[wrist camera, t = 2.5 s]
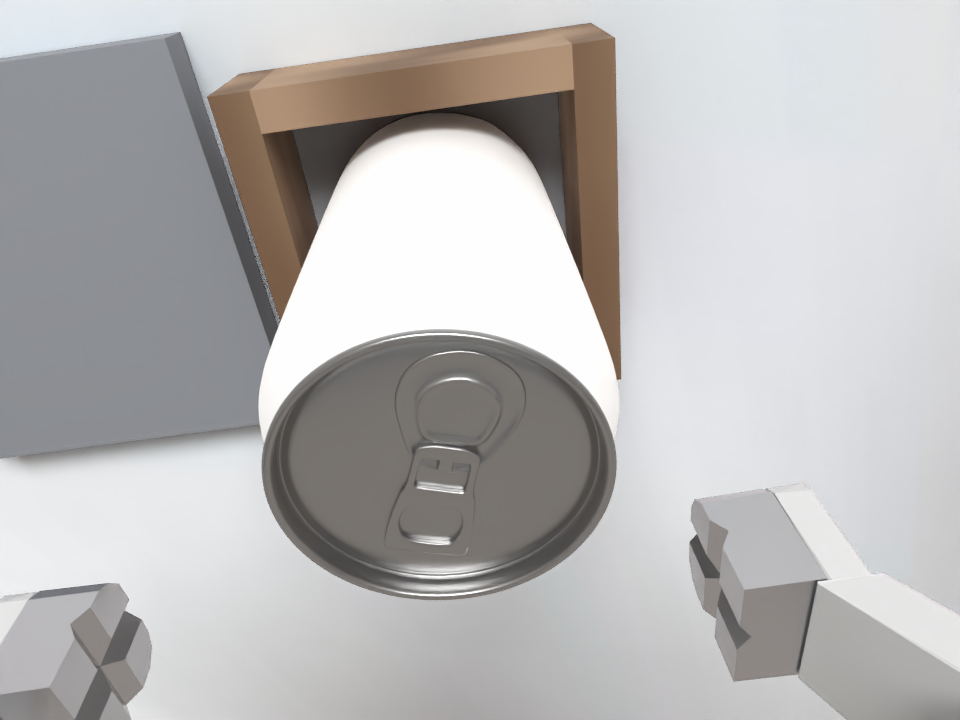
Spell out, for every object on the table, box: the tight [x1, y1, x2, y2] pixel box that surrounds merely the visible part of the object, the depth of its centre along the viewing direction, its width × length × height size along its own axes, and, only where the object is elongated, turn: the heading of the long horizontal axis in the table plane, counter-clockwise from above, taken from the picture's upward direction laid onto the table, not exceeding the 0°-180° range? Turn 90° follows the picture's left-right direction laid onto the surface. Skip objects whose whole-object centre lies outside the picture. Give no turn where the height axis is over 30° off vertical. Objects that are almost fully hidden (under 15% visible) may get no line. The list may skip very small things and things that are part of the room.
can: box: [258, 113, 619, 600], centre depth 16 cm, size 6×6×12 cm
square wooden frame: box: [207, 23, 621, 380], centre depth 20 cm, size 10×10×3 cm
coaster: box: [0, 32, 278, 459], centre depth 21 cm, size 11×12×1 cm
